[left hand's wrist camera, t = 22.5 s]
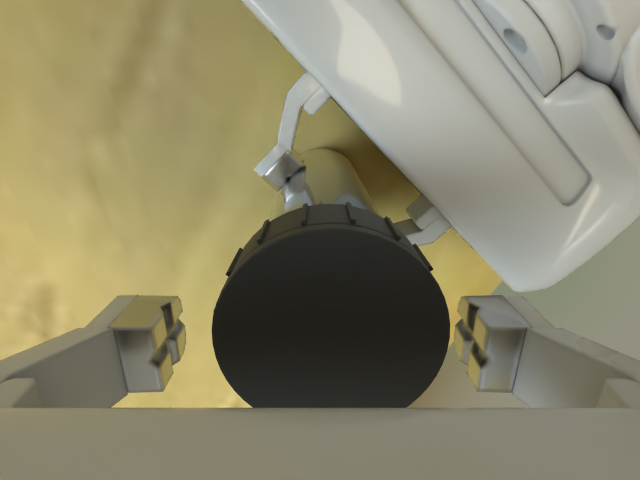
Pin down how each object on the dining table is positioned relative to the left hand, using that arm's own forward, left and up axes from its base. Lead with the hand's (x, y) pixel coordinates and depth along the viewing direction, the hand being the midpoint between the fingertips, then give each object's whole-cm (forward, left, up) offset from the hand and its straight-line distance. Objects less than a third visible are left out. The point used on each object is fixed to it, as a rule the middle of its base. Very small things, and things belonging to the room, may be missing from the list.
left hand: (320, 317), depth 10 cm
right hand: (0, 0, -9) cm, 9 cm away
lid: (0, +1, +2) cm, 2 cm away
